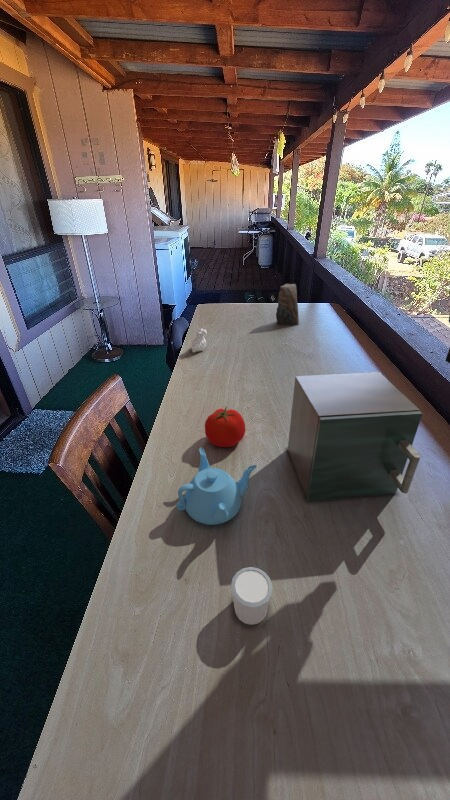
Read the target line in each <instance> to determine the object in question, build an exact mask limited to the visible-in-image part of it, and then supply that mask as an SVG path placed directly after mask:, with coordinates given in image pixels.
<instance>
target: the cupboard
mask: <svg viewBox="0 0 450 800" xmlns="http://www.w3.org/2000/svg"><path fill="white" fill-rule="evenodd" d="M413 411H421V410H420V408H419V407H418V406H416V405H415V403H413V402H412V401H411V400H410V399H409V398H408V397H407V396H405V394H404V393H403V392H401V391H400V390H399V389H398V388H397V387H396V386H395V385H394V384H393V383H392V382H390V380H388V378H387V377H385V376H384V375H383V374H382V373H381V372H380V371H371V372H351V373H350V372H349V373H331V374H311V375H310V374H309V375H295V377H294V385H293V394H292V404H291V415H290V422H289V433H288V442H287V451H288V454H289V457H290V459H291V463H292V465H293V467H294V469H295V472H296V475H297V477H298V479H299V482H300V485H301V487H302V490H303V493H304V495H305V497H306V498H307V493H308V487H309V481H310V474H311V468H312V461H313V455H314V449H315V442H316V436H317V429H318V423H319V418H320V417H335V416H351V415H366V414H382V413H397V412H413Z"/></svg>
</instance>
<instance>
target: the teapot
mask: <svg viewBox="0 0 450 800" xmlns="http://www.w3.org/2000/svg"><path fill="white" fill-rule="evenodd" d="M198 451H199V452H198V453H199V459H200V460H199V466H198V472H197V473H196V475H194V476H193V478H192V479H191V480H190V482H189V483H185V484H182V485H181V486H180V487H179V488H178V491H177V496H178V498H179V501H177V502H176V505H175V506H176V509H177V510H178V511H186V513H187V514H188V516H189V517H190V518H191V519H193V520H194V521H195V522H198V523H200V524H203V525H208V526H215V525H221V524H224V523H226V522H228V521H230V520H231V519H233V518H234V517H235V516H236V515H237V514H238V512H239V511H240V510H241V505H242V497H243V496H244V495H245V494H246V492H247V491H248V490H249V489H248V488H249V483H250V477H251V474H252V473H253V471H255V469H256V468H257V465H256V464H252V465H250V466H248V467H247V468H245V470H244V471H243V473H242V476H241V477H240V479H239V480H238V481H235V480H234V478H233V477H232V476H231V475H230V474H229V473H228V472H226V471H225V470H224V469H222V468H218V467H211V466H210V464H209V461H208V458H207V453H206V451H205V449H204V447H199V449H198ZM183 492H184V496H183Z"/></svg>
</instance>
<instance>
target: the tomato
mask: <svg viewBox="0 0 450 800" xmlns="http://www.w3.org/2000/svg"><path fill="white" fill-rule="evenodd" d="M227 407H228V405H226V406H225V408H217V409H216V410H214V412H212V414H210V415H209V416H207V418H206V419H205V422H204V434H205V436H206V438H207V440H208V441H209V443H211V445H214V446H215V447H218V448H231V447H234V446H235V445H237V444H238V443H239V442H241V441H242V440H243V438H244V436H245V434H246V423H245V420H244V417H243V416H242V414H241V413H240V412H238V410H236V409H231V408H230V409H227Z"/></svg>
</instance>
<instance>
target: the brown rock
mask: <svg viewBox="0 0 450 800" xmlns="http://www.w3.org/2000/svg"><path fill="white" fill-rule="evenodd" d="M297 289H298V287H297V284H296V283H284V284H283V285H280V287H279V291H278V295H277V308H276V313H275V318H276V322H277V325H278V326H288V325H290V326H291V325H293V326H294V325H299V323H300V317H299V305H298V304H299V303H298V290H297Z"/></svg>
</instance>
